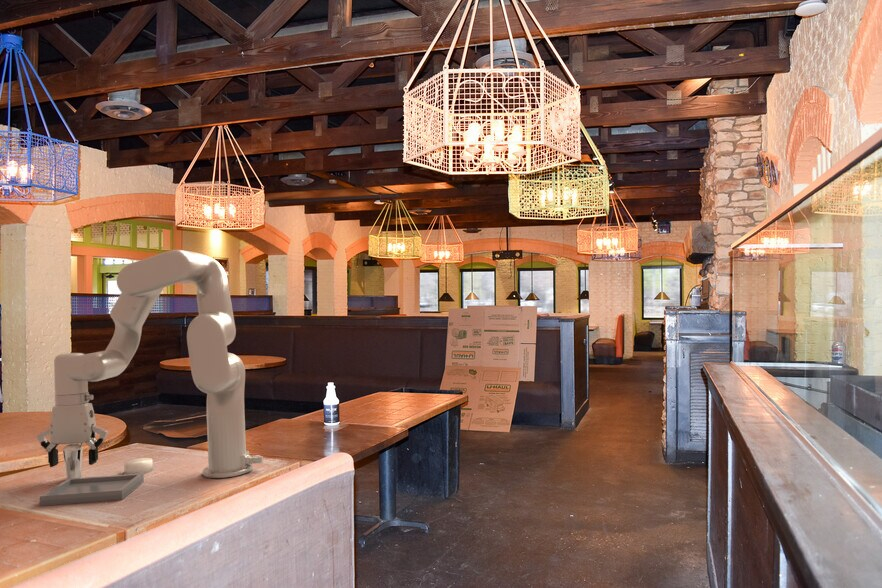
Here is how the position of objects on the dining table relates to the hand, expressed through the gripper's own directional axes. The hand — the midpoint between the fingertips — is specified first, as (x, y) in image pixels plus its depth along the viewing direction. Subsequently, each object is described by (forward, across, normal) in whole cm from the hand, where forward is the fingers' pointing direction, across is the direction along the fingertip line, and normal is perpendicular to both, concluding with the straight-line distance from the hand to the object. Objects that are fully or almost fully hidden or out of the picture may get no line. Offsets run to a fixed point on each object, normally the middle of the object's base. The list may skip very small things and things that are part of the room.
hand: (73, 464), depth 164 cm
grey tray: (+4, -11, +15) cm, 19 cm away
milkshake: (+4, 0, 0) cm, 4 cm away
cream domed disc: (+4, -15, -3) cm, 16 cm away
